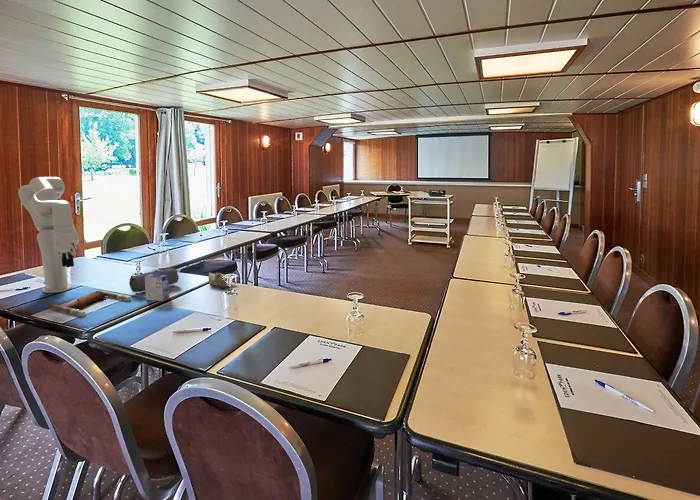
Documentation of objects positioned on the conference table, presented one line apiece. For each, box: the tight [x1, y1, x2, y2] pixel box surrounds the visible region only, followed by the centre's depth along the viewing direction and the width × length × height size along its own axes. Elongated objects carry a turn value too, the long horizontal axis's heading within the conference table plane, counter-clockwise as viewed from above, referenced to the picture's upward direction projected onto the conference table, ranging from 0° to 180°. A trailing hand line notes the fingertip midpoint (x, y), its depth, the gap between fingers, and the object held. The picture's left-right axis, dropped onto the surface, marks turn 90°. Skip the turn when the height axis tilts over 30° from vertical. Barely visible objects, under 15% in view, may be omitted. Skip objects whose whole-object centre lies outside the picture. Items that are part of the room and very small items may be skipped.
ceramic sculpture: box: [208, 271, 237, 289], centre depth 229 cm, size 11×9×15 cm
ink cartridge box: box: [145, 269, 170, 302], centre depth 205 cm, size 10×6×14 cm, turn 79°
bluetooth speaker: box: [129, 267, 180, 293], centre depth 220 cm, size 23×9×10 cm, turn 144°
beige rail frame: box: [47, 289, 132, 318], centre depth 196 cm, size 23×24×2 cm
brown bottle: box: [65, 290, 105, 310], centre depth 198 cm, size 18×7×7 cm
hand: (68, 266), depth 198 cm, fingers closed
